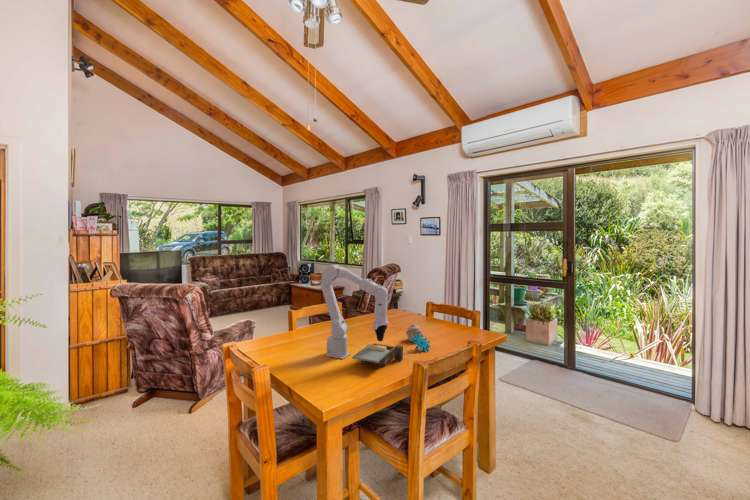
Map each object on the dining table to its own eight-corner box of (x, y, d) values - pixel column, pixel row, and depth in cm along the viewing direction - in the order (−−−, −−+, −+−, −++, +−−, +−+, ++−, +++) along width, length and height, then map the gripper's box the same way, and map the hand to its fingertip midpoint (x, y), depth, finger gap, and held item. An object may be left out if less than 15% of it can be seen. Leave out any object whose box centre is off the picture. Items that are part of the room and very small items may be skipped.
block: (400, 361, 164) (401, 347, 164) (394, 360, 165) (394, 346, 165) (402, 359, 167) (403, 346, 166) (396, 358, 168) (397, 345, 168)
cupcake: (420, 344, 189) (421, 326, 189) (403, 342, 192) (404, 324, 192) (423, 339, 198) (424, 321, 198) (407, 337, 201) (408, 320, 201)
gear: (418, 351, 174) (411, 333, 180) (412, 356, 177) (405, 339, 183) (435, 350, 180) (428, 333, 186) (428, 355, 183) (421, 338, 189)
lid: (352, 358, 154) (352, 353, 154) (366, 347, 168) (366, 343, 168) (377, 362, 149) (377, 357, 149) (390, 351, 163) (390, 346, 163)
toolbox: (360, 362, 162) (360, 352, 162) (373, 352, 176) (373, 343, 176) (384, 366, 158) (385, 356, 157) (396, 355, 171) (396, 346, 171)
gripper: (382, 316, 158) (382, 346, 159) (394, 310, 171) (393, 337, 172) (368, 315, 161) (367, 344, 162) (380, 308, 174) (380, 335, 175)
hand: (380, 340), depth 167 cm, fingers closed
